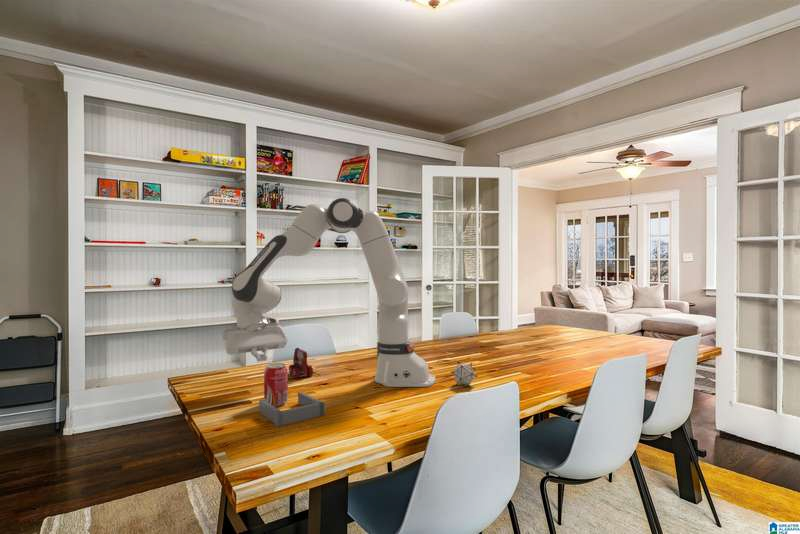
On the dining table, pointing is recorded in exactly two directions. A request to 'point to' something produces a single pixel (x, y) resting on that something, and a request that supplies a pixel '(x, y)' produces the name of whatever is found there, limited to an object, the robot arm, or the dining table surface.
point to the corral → (293, 410)
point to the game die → (464, 374)
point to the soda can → (276, 384)
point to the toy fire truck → (300, 364)
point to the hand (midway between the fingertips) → (262, 360)
